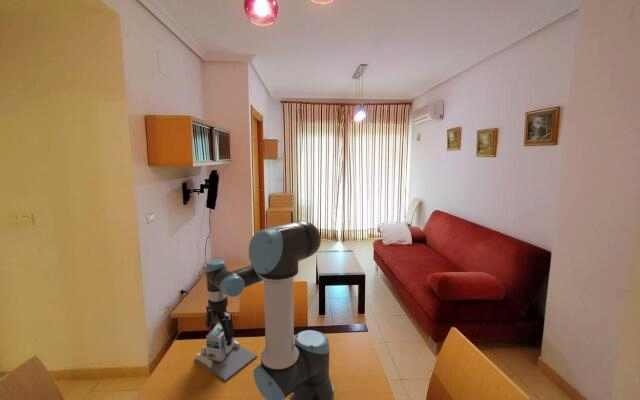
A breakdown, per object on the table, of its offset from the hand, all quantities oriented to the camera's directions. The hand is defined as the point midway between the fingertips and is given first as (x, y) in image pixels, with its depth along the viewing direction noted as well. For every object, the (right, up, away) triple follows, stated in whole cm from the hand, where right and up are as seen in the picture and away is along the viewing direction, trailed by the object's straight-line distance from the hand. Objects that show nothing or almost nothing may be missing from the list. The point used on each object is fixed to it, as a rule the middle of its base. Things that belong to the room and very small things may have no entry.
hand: (221, 347), depth 125 cm
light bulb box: (0, -3, +1) cm, 3 cm away
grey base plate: (+2, -4, -1) cm, 5 cm away
